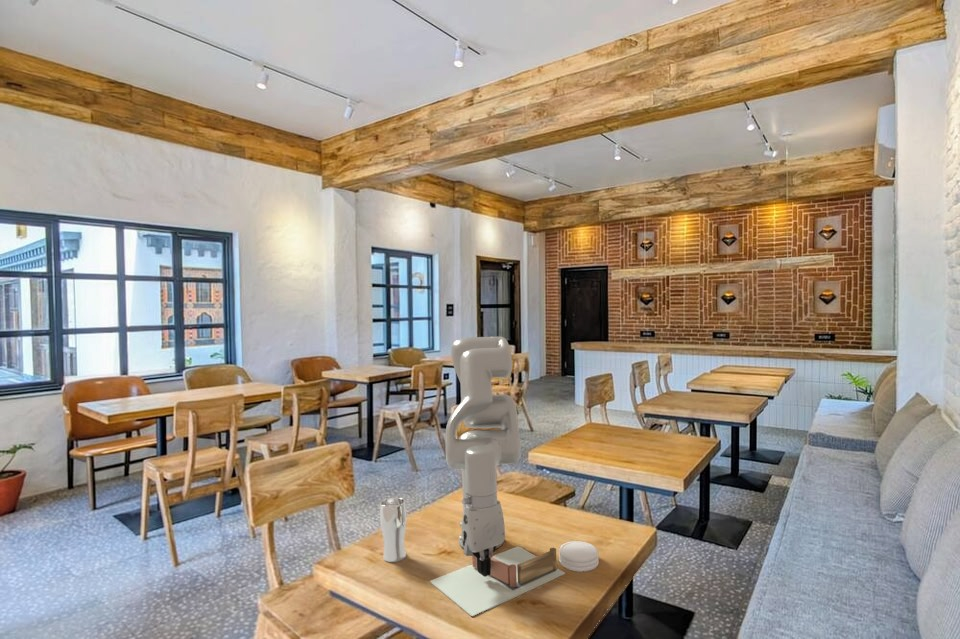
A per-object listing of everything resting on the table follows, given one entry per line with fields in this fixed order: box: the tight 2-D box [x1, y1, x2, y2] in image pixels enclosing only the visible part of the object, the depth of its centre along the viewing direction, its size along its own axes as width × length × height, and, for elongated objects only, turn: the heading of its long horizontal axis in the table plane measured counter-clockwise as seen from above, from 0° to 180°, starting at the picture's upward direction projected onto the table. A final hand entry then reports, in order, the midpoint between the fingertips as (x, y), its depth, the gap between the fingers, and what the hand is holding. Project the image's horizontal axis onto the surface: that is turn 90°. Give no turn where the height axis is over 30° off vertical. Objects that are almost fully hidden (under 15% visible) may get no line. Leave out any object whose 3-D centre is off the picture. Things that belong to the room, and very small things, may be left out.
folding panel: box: [471, 555, 517, 587], centre depth 127 cm, size 15×2×5 cm, turn 43°
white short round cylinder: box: [558, 540, 600, 573], centre depth 134 cm, size 10×10×4 cm
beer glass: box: [379, 497, 407, 563], centre depth 140 cm, size 7×7×15 cm
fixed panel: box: [517, 547, 558, 584], centre depth 127 cm, size 2×12×5 cm, turn 126°
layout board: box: [429, 545, 566, 617], centre depth 128 cm, size 18×28×1 cm, turn 126°
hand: (484, 573), depth 126 cm, fingers closed
